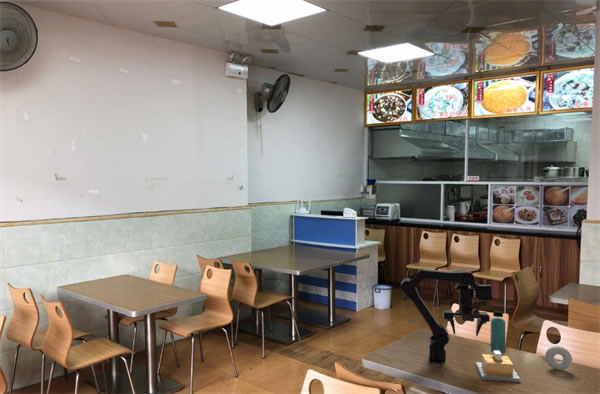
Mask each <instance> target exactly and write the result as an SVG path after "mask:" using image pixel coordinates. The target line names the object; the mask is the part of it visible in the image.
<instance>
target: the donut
mask: <svg viewBox="0 0 600 394" xmlns="http://www.w3.org/2000/svg"><path fill="white" fill-rule="evenodd" d="M544 355H545V356H544V359H545V362H546V363H547V365H548V366H549V367H550V368H552V369H553V370H557V371H565V370H567V369H569V368H570V367H571V365H572V363H573V357H572V354H571V352H570V351H569V350H568V349H566V348H565V347H563V346H559V345H554V346H550V347H549V348H548V349H546V351H545V353H544ZM556 355H559V356H560V357H562V360H560V361H557V360H556V359H555V356H556Z"/></svg>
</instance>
